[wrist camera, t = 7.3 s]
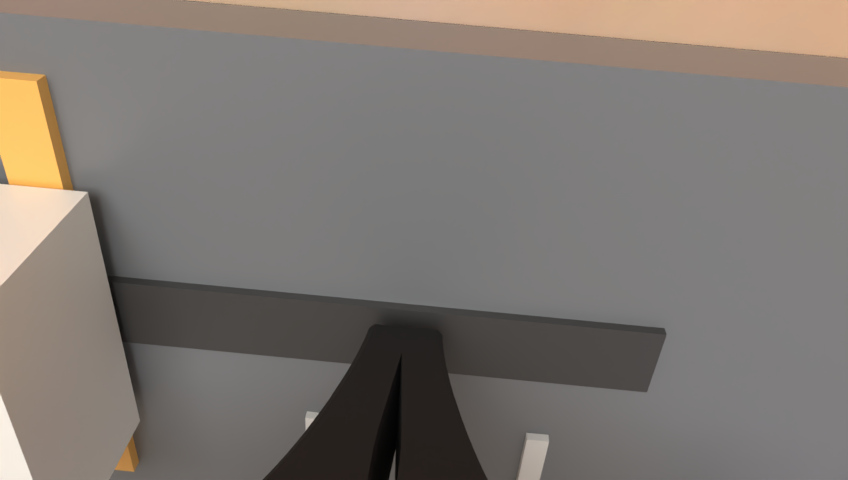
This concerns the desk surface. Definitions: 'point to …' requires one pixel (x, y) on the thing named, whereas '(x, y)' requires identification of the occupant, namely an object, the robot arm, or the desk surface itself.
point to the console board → (451, 231)
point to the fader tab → (58, 343)
